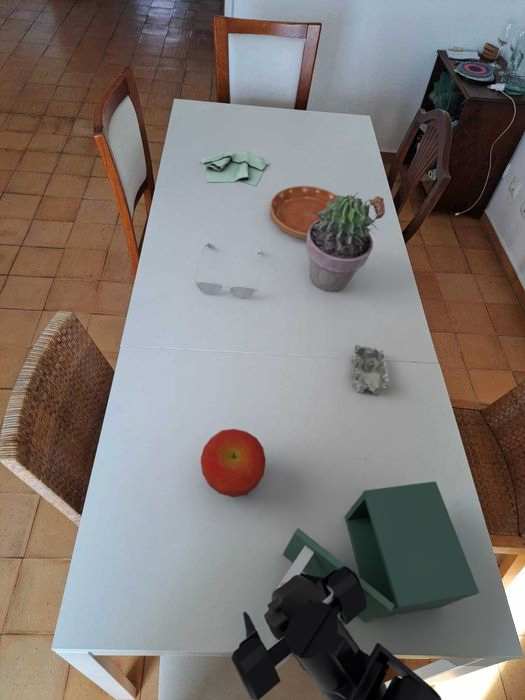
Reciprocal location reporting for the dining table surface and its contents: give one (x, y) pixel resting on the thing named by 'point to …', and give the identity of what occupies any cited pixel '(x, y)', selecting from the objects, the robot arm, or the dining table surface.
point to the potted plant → (340, 241)
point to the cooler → (409, 548)
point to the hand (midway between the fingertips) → (271, 594)
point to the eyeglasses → (215, 288)
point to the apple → (233, 462)
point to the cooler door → (328, 572)
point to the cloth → (234, 167)
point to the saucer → (299, 208)
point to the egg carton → (369, 370)
